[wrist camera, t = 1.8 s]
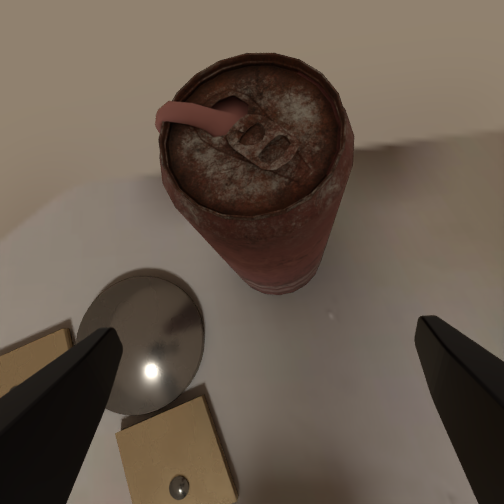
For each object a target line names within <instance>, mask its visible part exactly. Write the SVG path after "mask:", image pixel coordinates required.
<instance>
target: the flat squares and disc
mask: <svg viewBox="0 0 504 504" xmlns="http://www.w3.org/2000/svg"><path fill="white" fill-rule="evenodd" d="M101 327H113V328H115V330H116V332H117V334H118V336H119V338H120V341H121V343H122V345H123V354H122V357H121V361H120V364H119V367H118V371H117V374H116V377H115V381H114V384H113V387H112V391H111V394H110V397H109V400H108V403H107V405H106V409H108V410H110V411H113V412H115V413H119V414H124V415H141V414H146V413H150V412H153V411H156V410H158V409H160V408H162V407H164V406H166V405H167V404H169V403H171V402H172V401H173V400H175V399H176V398H177V397H178V396H180V395H181V394H182V393H183V392H184V391H185V389H186V388H187V387H188V386H189V384H190V383H191V381H192V380H193V378H194V377H195V375H196V373H197V371H198V368H199V366H200V363H201V360H202V355H203V350H204V329H203V323H202V320H201V316H200V314H199V311H198V309H197V307H196V306H195V304H194V302H193V301H192V300H191V298H190V297H189V296H188V295H187V294H186V293H185V292H184V291H183V290H182V289H180V288H179V287H178V286H176V285H174V284H172V283H170V282H168V281H166V280H163V279H160V278H156V277H149V276H140V277H133V278H129V279H125V280H123V281H120V282H118V283H116V284H114V285H112V286H111V287H109V288H108V289H106V290H105V291H104V292H103V293H101V294H100V295H99V296H98V297H97V298H96V299H95V301H94V302H93V303H92V304H91V306H90V307H89V308H88V310H87V312H86V313H85V315H84V317H83V319H82V321H81V324H80V326H79V330H78V333H77V338H76V344H77V343H79V342H80V341H81V340H83V339H84V338H86V337H87V336H89V335H90V334H91V333H93V332H94V331H96V330H97V329H99V328H101ZM76 344H75V345H76ZM72 347H73V343H72V339H71V334H70V330H69V328H63V329H61V330H58V331H56V332H54V333H52V334H49V335H47V336H45V337H43V338H40V339H38V340H36V341H34V342H31V343H29V344H27V345H25V346H22V347H20V348H18V349H16V350H13V351H11V352H9V353H6V354H4V355H2V356H0V398H1V397H2V396H3V395H5V394H6V393H8V392H9V391H11V390H12V389H13V388H15V387H16V386H18V385H19V384H20V383H22V382H23V381H25V380H26V379H28V378H29V377H30V376H32V375H33V374H35V373H36V372H38V371H39V370H40V369H42V368H43V367H45V366H46V365H47V364H49V363H50V362H52V361H53V360H55V359H56V358H57V357H59V356H60V355H62V354H63V353H64V352H66V351H67V350H69V349H70V348H72ZM115 435H116V439H117V443H118V447H119V451H120V455H121V459H122V463H123V467H124V471H125V475H126V479H127V483H128V487H129V491H130V495H131V499H132V503H133V504H231V503H234V502H236V501H237V499H238V493H237V490H236V487H235V484H234V481H233V478H232V476H231V473H230V470H229V467H228V464H227V461H226V458H225V455H224V452H223V449H222V446H221V443H220V440H219V437H218V434H217V431H216V428H215V425H214V422H213V419H212V416H211V413H210V410H209V407H208V404H207V401H206V398H205V395H202V396H199V397H197V398H195V399H192V400H190V401H188V402H186V403H183V404H181V405H179V406H176V407H174V408H172V409H169V410H167V411H165V412H163V413H160V414H158V415H156V416H153V417H151V418H149V419H146V420H144V421H142V422H140V423H137V424H135V425H133V426H130V427H128V428H126V429H123V430H121V431H119V432H117V433H115Z"/></svg>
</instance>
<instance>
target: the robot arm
mask: <svg viewBox="0 0 504 504" xmlns="http://www.w3.org/2000/svg"><path fill="white" fill-rule="evenodd" d="M415 346H416V349H417V352H418V356H419V359H420V362H421V365H422V368H423V372H424V375H425V378H426V381H427V384H428V388H429V391H430V394H431V396H432V399H433V402H434V404H435V406H436V409H437V411H438V413H439V415H440V418H441V420H442V422H443V425H444V427H445V429H446V431H447V434H448V436H449V438H450V440H451V443H452V445H453V447H454V449H455V452H456V454H457V456H458V459H459V461H460V463H461V465H462V468H463V470H464V472H465V474H466V477H467V479H468V481H469V483H470V486H471V488H472V490H473V492H474V495H475V497H476V499H477V502H478V504H504V361H502V360H501V359H499V358H498V357H496V356H495V355H493V354H492V353H490V352H489V351H487V350H486V349H484V348H483V347H482V346H480V345H479V344H477V343H476V342H474V341H473V340H471V339H470V338H468V337H467V336H465V335H464V334H462V333H461V332H459V331H458V330H457V329H455V328H454V327H452V326H451V325H449V324H448V323H446V322H445V321H443V320H442V319H440V318H439V317H437V316H434V315H429V316H420V317H419V318H418V322H417V327H416V332H415ZM122 354H123V345H122V343H121V341H120V338H119V336H118V334H117V332H116V330H115V328H113V327H101V328H99V329H97V330H96V331H94V332H93V333H91V334H90V335H89V336H87V337H86V338H84V339H83V340H81V341H80V342H79V343H77V344H76V345H74V346H73V347H72V348H70V349H69V350H67V351H66V352H64V353H63V354H62V355H60V356H59V357H57V358H56V359H55V360H53V361H52V362H50V363H49V364H47V365H46V366H45V367H43V368H42V369H40V370H39V371H38V372H36V373H35V374H33V375H32V376H30V377H29V378H28V379H26V380H25V381H23V382H22V383H20V384H19V385H18V386H16V387H15V388H13V389H12V390H11V391H9V392H8V393H6V394H5V395H3V396H2V397H1V398H0V504H66V503H67V500H68V498H69V496H70V493H71V491H72V488H73V486H74V483H75V481H76V478H77V476H78V474H79V471H80V469H81V466H82V464H83V461H84V459H85V457H86V454H87V452H88V449H89V447H90V444H91V442H92V439H93V437H94V435H95V432H96V430H97V427H98V425H99V422H100V420H101V418H102V415H103V413H104V410H105V408H106V405H107V403H108V400H109V397H110V394H111V391H112V387H113V384H114V381H115V377H116V374H117V371H118V367H119V364H120V361H121V357H122Z"/></svg>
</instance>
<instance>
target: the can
mask: <svg viewBox="0 0 504 504" xmlns="http://www.w3.org/2000/svg"><path fill="white" fill-rule="evenodd" d="M155 125H156V128H157V130H158V132H159V133H160V136H159V147H160V165H161V173H162V181H163V185H164V187H165V189H166V190H167V192H168V194H169V196H170V198H171V200H172V202H173V204H174V206H175V208H176V209H177V210H178V211H179V212H180V213H181V214H182V215H183V216H184V217H185V218H186V219H187V220H188V221H189V223H190V224H191V225H192V226H193V227H194V228H195V229H196V230H197V231H198V232H199V233H200V234H201V235H202V237H203V238H204V239H205V240H206V241H207V242H208V243H209V244H210V245H211V246H212V247H213V248H214V249H215V250H216V252H217V253H218V254H219V255H220V256H221V257H222V258H223V259H224V260H225V261H226V262H227V263H228V264H229V266H230V267H231V268H232V269H233V270H234V271H235V272H236V273H237V274H238V275H239V276H240V277H241V278H242V279H243V280H244V281H245V282H246V283H247V284H248V285H249V286H250V287H251V288H253V289H256V290H258V291H260V292H262V293H265V294H274V295H282V294H286V293H291V292H294V291H296V290H298V289H299V288H301V287H303V286H305V285H306V284H307V283H308V282H309V281H310V279H311V278H312V277H313V276H314V275H315V274H316V271H317V269H318V267H319V264H320V262H321V259H322V256H323V253H324V250H325V247H326V244H327V241H328V238H329V235H330V232H331V229H332V226H333V223H334V220H335V217H336V214H337V211H338V208H339V205H340V202H341V199H342V196H343V193H344V190H345V187H346V184H347V181H348V178H349V175H350V172H351V169H352V166H353V151H354V134H353V131H352V128H351V125H350V122H349V119H348V116H347V113H346V110H345V108H344V107H343V106H342V102H341V99H340V96H339V93H338V92H337V91H336V90H335V88H334V87H333V86H332V85H331V83H330V82H329V81H328V80H327V78H326V77H325V76H324V75H323V74H322V73H321V72H319V71H318V70H316V69H314V68H313V67H311V66H310V65H308V64H306V63H305V62H303V61H301V60H300V59H296V58H292V57H288V56H284V55H280V54H276V53H246V54H242V55H238V56H235V57H231V58H228V59H224V60H220V61H218V62H216V63H215V64H213V65H211V66H209V67H208V68H206V69H204V70H202V71H200V72H199V73H197V74H196V75H194V76H193V78H191V79H190V80H189V81H188V82H187V83H186V84H185V85H184V86H183V87H182V88H181V89H180V90H179V91H178V92H177V93H176V95H175V97H174V98H173V100H172V101H168V102H167V103H166V104H164V105H163V106H162V107H161V108H160V109H159V110H158V111H157V114H156V122H155Z"/></svg>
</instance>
